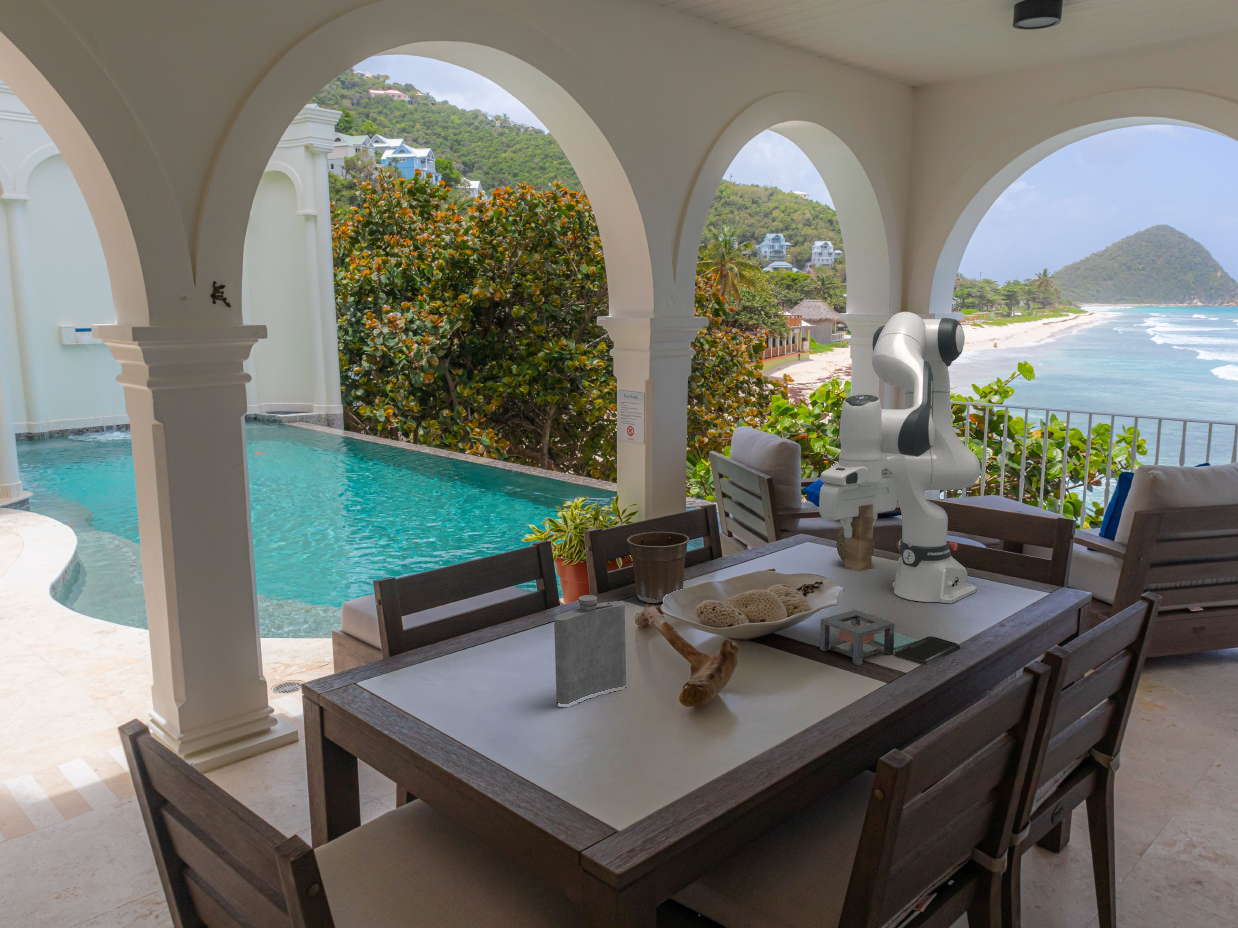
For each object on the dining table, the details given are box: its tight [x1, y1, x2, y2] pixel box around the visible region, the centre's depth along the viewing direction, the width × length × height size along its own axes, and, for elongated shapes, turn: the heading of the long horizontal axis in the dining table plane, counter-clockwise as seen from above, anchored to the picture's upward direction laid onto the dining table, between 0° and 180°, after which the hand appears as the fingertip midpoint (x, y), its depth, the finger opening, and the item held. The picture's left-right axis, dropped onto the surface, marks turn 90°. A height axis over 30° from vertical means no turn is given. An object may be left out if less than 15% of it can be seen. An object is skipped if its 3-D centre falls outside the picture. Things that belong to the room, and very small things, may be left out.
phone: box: [894, 635, 961, 666], centre depth 192 cm, size 8×1×15 cm
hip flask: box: [553, 594, 627, 704], centre depth 171 cm, size 16×4×20 cm, turn 127°
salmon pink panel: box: [839, 624, 875, 644], centre depth 192 cm, size 5×5×2 cm
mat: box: [871, 631, 919, 651], centre depth 199 cm, size 8×8×1 cm
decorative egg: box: [836, 525, 876, 563], centre depth 258 cm, size 11×11×15 cm
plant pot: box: [626, 531, 690, 600], centre depth 232 cm, size 16×16×16 cm
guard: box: [819, 609, 895, 666], centre depth 192 cm, size 11×11×7 cm
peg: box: [844, 504, 874, 572], centre depth 189 cm, size 4×4×14 cm
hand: (858, 535), depth 189 cm, fingers closed on peg, 4 cm apart
